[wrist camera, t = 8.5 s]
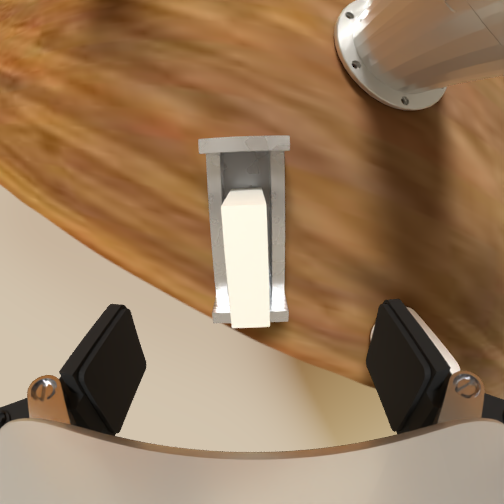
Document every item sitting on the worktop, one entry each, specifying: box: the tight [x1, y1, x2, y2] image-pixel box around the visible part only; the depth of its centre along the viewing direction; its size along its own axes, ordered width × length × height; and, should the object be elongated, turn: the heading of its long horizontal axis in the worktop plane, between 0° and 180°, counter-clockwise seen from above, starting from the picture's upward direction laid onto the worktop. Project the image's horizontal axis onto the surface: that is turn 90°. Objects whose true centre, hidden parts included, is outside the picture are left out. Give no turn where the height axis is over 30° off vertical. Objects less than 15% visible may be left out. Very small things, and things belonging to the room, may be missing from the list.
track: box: [198, 136, 290, 323], centre depth 22 cm, size 14×6×6 cm, turn 2°
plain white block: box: [221, 187, 270, 328], centre depth 21 cm, size 8×3×8 cm, turn 3°
